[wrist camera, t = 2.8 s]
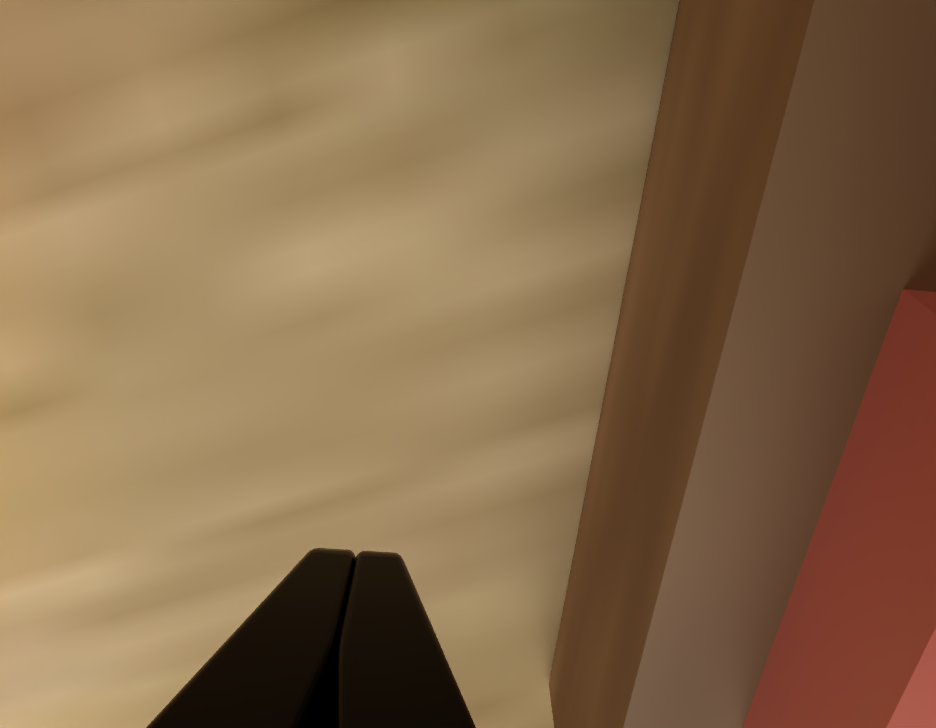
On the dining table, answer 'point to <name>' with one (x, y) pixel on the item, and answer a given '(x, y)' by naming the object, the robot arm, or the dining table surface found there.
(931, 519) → the terracotta red slab
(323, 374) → the dining table surface
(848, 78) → the deck
